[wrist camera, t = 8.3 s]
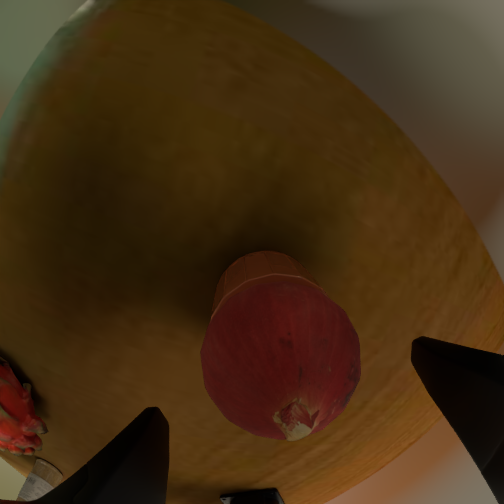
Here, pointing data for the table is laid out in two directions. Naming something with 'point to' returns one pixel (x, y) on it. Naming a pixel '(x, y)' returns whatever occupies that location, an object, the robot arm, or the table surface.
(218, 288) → the cup
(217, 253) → the table surface
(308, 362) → the onion
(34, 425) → the dragon fruit
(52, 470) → the sprinkles bottle
